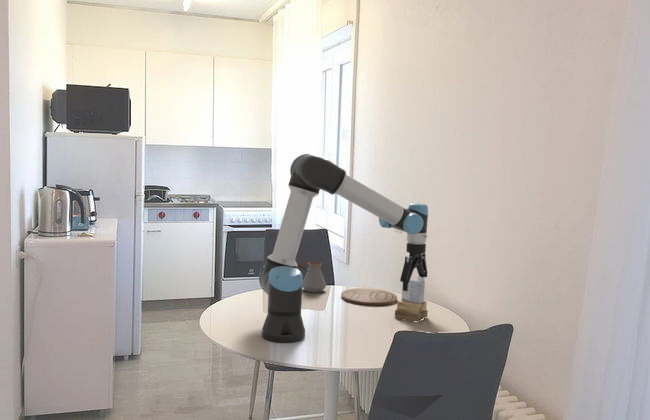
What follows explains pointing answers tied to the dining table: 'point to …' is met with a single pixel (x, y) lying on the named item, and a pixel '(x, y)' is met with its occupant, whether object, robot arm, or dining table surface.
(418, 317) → the walnut slab
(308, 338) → the dining table surface
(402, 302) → the oak slab
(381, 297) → the trivet
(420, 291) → the medicine box
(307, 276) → the coffee pot
